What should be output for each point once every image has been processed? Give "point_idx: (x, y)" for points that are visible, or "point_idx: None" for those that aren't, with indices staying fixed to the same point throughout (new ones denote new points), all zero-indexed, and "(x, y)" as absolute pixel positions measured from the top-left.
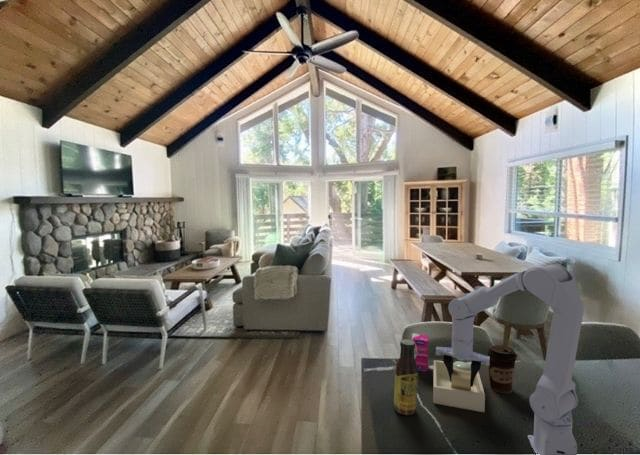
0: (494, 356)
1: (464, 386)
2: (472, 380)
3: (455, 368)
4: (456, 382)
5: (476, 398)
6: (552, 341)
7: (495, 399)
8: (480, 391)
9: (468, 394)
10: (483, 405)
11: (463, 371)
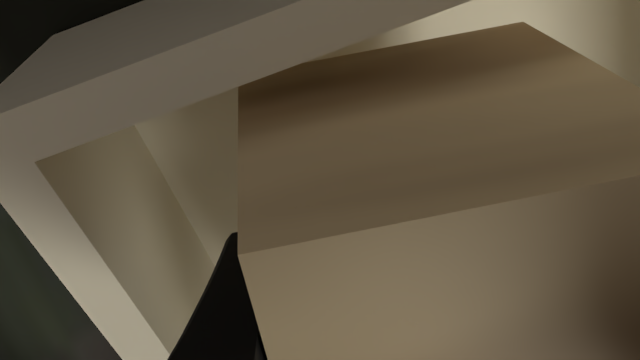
0: None
1: (346, 118)
2: (215, 308)
3: None
4: (527, 104)
5: (110, 50)
6: None
7: (79, 338)
8: (110, 241)
9: (235, 12)
10: (36, 57)
11: None
